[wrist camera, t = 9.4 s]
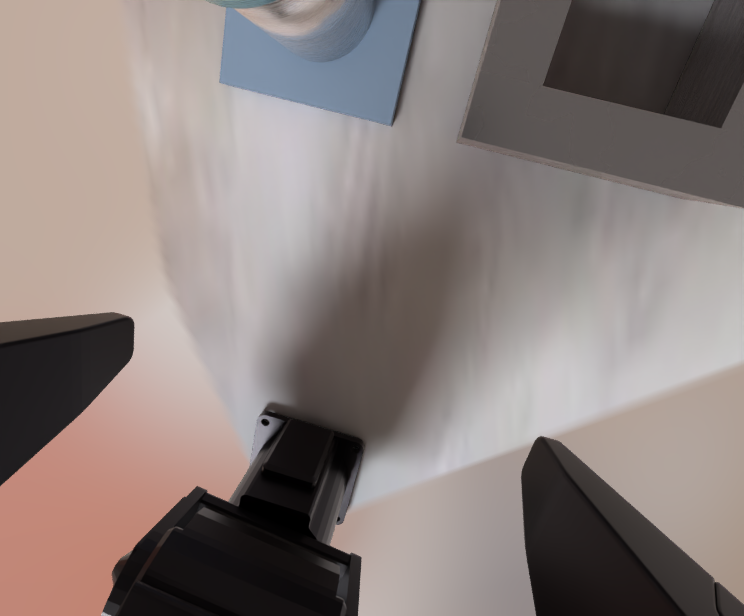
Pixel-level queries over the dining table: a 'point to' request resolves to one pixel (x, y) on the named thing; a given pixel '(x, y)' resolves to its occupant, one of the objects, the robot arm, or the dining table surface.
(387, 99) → the mat
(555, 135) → the housing
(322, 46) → the green lidded jar
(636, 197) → the dining table surface
